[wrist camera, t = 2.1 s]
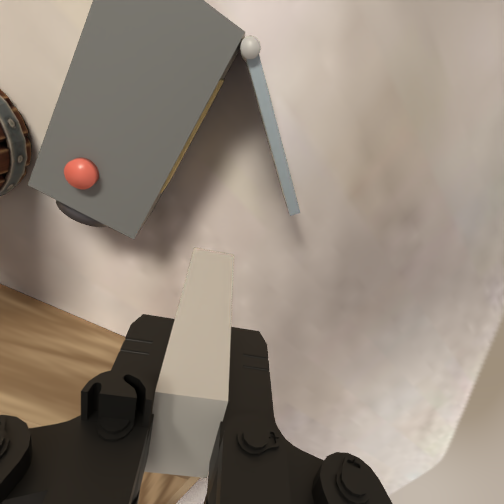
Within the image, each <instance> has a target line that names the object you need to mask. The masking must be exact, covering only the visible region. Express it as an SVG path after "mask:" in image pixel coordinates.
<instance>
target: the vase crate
mask: <svg viewBox="0 0 504 504" xmlns="http://www.w3.org/2000/svg"><path fill="white" fill-rule="evenodd" d="M124 340H125V337H124V336H121V335H119V334H117V333H114V332H112V331H110V330H107V329H105V328H103V327H100V326H98V325H95V324H93V323H91V322H88V321H86V320H84V319H81V318H79V317H77V316H74V315H72V314H70V313H67V312H65V311H63V310H60V309H58V308H56V307H53V306H51V305H49V304H46V303H44V302H42V301H39V300H37V299H35V298H32V297H30V296H28V295H25V294H23V293H20V292H18V291H16V290H13V289H11V288H9V287H6V286H4V285H2V284H0V415H9V416H15V417H18V418H19V419H21V420H22V421H24V422H25V423H27V426H28V428H35V427H41V426H46V425H52V424H58V423H62V422H65V421H69V420H71V419H73V418H76V417H78V416H80V415H81V390H82V389H83V388H84V386H85V385H86V384H87V383H88V381H89V380H91V379H92V378H94V377H95V376H97V375H99V374H100V373H103V372H106V371H110V370H111V369H112V367H113V364H114V362H115V360H116V358H117V355H118V353H119V352H120V349H121V346H122V344H123V342H124ZM199 478H200V477H191V476H181V475H171V474H161V473H152V472H144V475H143V479H142V483H141V487H140V494H139V501H138V504H176V503H177V501H178V500H179V499H180V498H181V497H182V496H183V495H184V494H185V493H186V492H187V491H188V490H189V489H190V488H191V487H192V486H193V485H194V484H195V483H196V482H197V481H198V480H199Z"/></svg>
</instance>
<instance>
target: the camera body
mask: <svg viewBox="0 0 504 504" xmlns="http://www.w3.org/2000/svg"><path fill="white" fill-rule="evenodd" d="M244 38H245V32H244V31H243V30H242V29H241V28H239V27H238V26H237V25H235V24H234V23H233V22H231V21H230V20H229V19H227V18H226V17H225V16H223V15H222V14H221V13H219V12H218V11H217V10H215V9H214V8H213V7H211V6H210V5H209V4H208V3H206V2H205V1H204V0H93V2H92V5H91V8H90V11H89V14H88V17H87V19H86V22H85V25H84V28H83V31H82V33H81V36H80V39H79V42H78V45H77V47H76V50H75V53H74V56H73V59H72V62H71V64H70V67H69V70H68V73H67V76H66V78H65V81H64V84H63V87H62V90H61V93H60V95H59V98H58V101H57V104H56V107H55V109H54V112H53V115H52V118H51V121H50V123H49V126H48V129H47V132H46V135H45V138H44V140H43V143H42V146H41V149H40V152H39V154H38V157H37V160H36V163H35V166H34V169H33V171H32V174H31V177H30V180H29V183H28V186H30V187H32V188H34V189H36V190H38V191H40V192H42V193H44V194H46V195H48V196H50V197H52V198H53V199H55V200H56V204H57V206H58V208H59V209H60V210H61V211H62V212H63V213H64V214H65V215H67V216H68V217H70V218H71V219H73V220H75V221H77V222H80V223H83V224H86V225H89V226H96V227H104V226H108V227H110V228H112V229H114V230H116V231H118V232H120V233H122V234H124V235H126V236H128V237H130V238H132V239H135V237H136V236H137V234H138V232H139V231H140V229H141V228H142V226H143V225H144V223H145V222H146V220H147V219H148V217H149V216H150V214H151V212H152V211H153V209H154V207H155V205H156V203H157V201H158V200H159V198H160V196H161V194H162V192H163V191H164V189H165V188H166V186H167V185H168V183H169V182H170V180H171V178H172V176H173V175H174V173H175V171H176V169H177V167H178V165H179V164H180V162H181V160H182V158H183V156H184V154H185V152H186V151H187V149H188V147H189V145H190V143H191V141H192V140H193V138H194V136H195V134H196V132H197V130H198V128H199V127H200V125H201V123H202V121H203V119H204V117H205V116H206V114H207V112H208V110H209V108H210V106H211V104H212V103H213V101H214V99H215V97H216V95H217V93H218V92H219V90H220V88H221V86H222V84H223V82H224V77H225V75H226V74H227V72H228V70H229V68H230V66H231V64H232V62H233V61H234V59H235V57H236V55H237V53H238V51H239V50H240V48H241V42H242V40H243V39H244Z"/></svg>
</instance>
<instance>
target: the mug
mask: <svg viewBox="0 0 504 504" xmlns="http://www.w3.org/2000/svg"><path fill="white" fill-rule="evenodd" d="M27 136H28V131H27V128H26V126H25V123H24V120H23V119H22V117H21V115H20V113H19V112H18V110H17V108H15V107H14V106H13V105H12V104H11V102H10V100H9V98H8V97H7V96H6V95H5V94H4V92H3V91H2V90H1V89H0V196H1V195H4V194H6V193H7V192H9V191H10V190H11V189H12V188H14V187H15V186H16V185H17V184H18V183H20V182H21V181H22V179H23V178H24V176H25V175H26V166H27V165H30V159H31V143H30V141H29V139H28V137H27Z"/></svg>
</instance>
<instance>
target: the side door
mask: <svg viewBox="0 0 504 504" xmlns="http://www.w3.org/2000/svg"><path fill="white" fill-rule="evenodd" d="M260 48H261V47H260V42H259V40H258V39H257V38H256V37H254V36H247V37H245V38H244V39H243V40H242V42H241V57H242V59H243V60H244V61H246V64H247V68H248V72H249V75H250V79H251V82H252V86H253V89H254V93H255V97H256V100H257V104H258V107H259V111H260V115H261V118H262V122H263V125H264V129H265V132H266V136H267V140H268V143H269V147H270V150H271V154H272V157H273V161H274V165H275V168H276V172H277V175H278V179H279V182H280V186H281V190H282V193H283V196H284V199H285V202H286V205H287V208H288V211H289V214H290V216H291V215H295V214H298V213H300V210H299V206H298V202H297V198H296V195H295V191H294V187H293V183H292V179H291V175H290V172H289V168H288V164H287V160H286V156H285V153H284V149H283V145H282V141H281V137H280V133H279V130H278V126H277V122H276V118H275V114H274V110H273V107H272V103H271V99H270V95H269V91H268V88H267V84H266V80H265V76H264V72H263V68H262V65H261V61H260V57H259V53H260Z"/></svg>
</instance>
